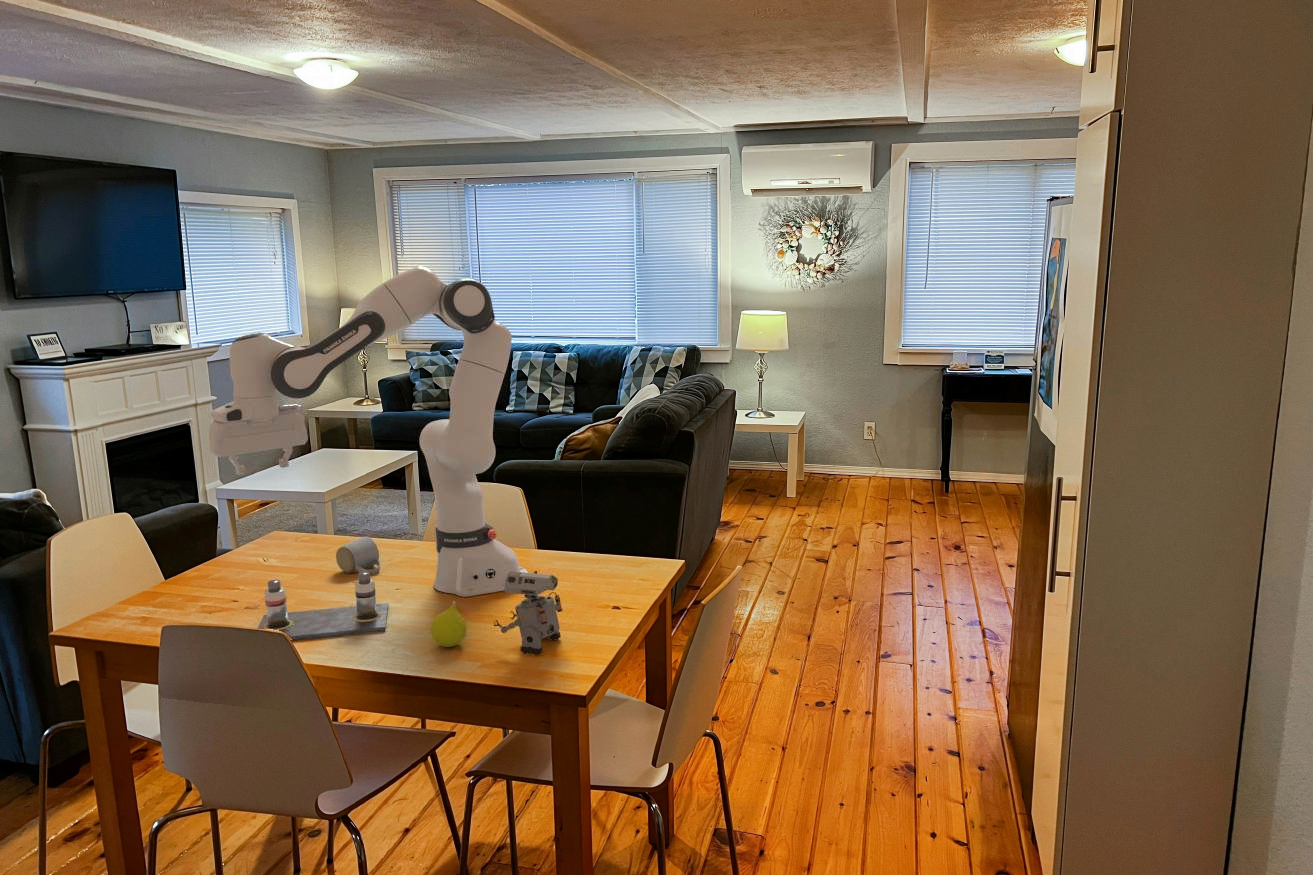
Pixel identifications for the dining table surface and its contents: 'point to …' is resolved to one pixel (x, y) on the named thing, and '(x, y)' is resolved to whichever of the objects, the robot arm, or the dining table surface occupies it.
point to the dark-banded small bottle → (365, 596)
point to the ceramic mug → (358, 556)
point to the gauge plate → (330, 623)
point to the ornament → (448, 627)
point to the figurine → (533, 609)
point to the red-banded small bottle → (276, 605)
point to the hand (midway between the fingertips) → (262, 470)
